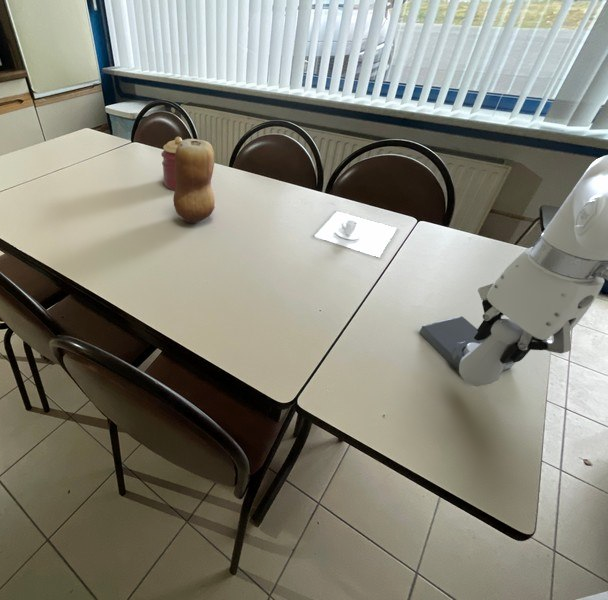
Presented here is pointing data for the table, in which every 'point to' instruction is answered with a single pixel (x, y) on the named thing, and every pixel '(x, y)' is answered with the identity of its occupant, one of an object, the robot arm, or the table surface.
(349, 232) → the teacup and saucer
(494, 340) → the salt shaker
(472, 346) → the flush button
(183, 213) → the butternut squash
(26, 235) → the table surface
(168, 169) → the kitchen canister
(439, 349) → the plate
